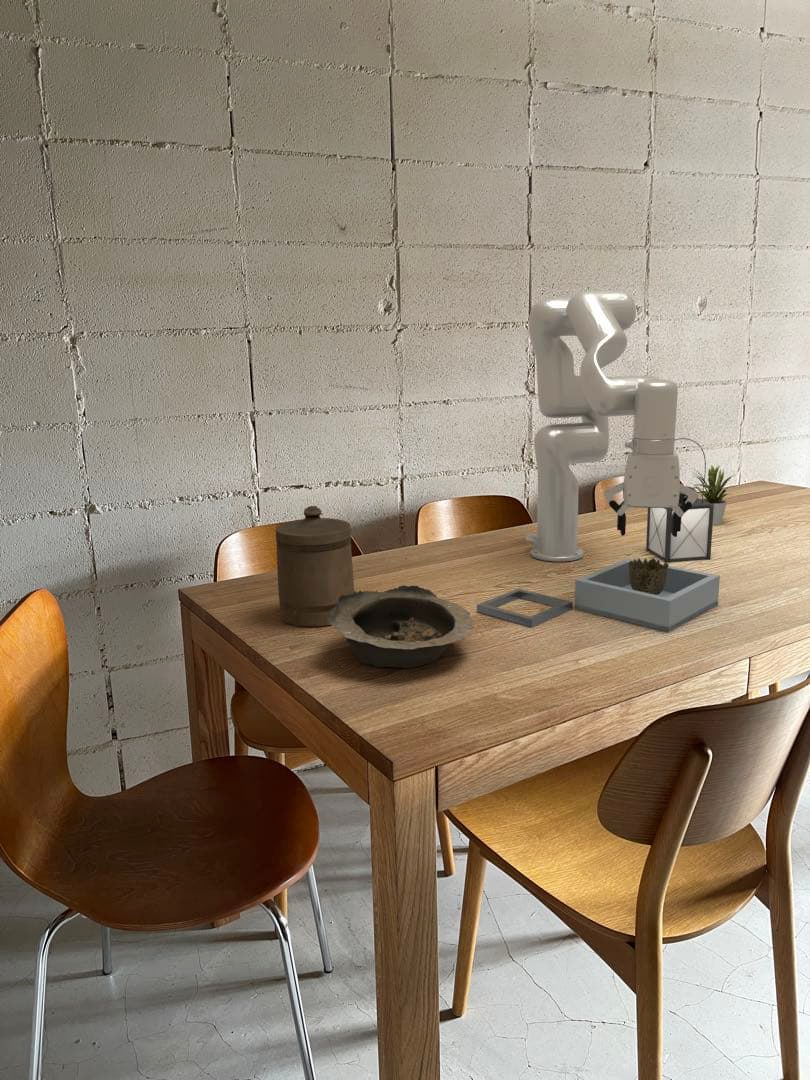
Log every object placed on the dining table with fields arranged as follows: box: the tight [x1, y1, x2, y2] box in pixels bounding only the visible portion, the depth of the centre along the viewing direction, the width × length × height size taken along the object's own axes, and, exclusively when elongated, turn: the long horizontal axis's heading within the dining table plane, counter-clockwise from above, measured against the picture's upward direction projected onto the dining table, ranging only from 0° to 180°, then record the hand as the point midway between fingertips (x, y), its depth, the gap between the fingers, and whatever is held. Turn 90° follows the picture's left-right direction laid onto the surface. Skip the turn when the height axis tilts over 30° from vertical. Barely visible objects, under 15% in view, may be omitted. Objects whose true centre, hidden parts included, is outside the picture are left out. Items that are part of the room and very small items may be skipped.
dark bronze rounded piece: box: [629, 557, 670, 595], centre depth 165 cm, size 8×7×8 cm
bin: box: [574, 557, 721, 633], centre depth 166 cm, size 20×20×6 cm
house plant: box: [689, 465, 737, 527], centre depth 230 cm, size 14×14×16 cm
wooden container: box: [275, 505, 355, 628], centre depth 165 cm, size 15×15×22 cm
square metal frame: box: [476, 588, 574, 628], centre depth 166 cm, size 13×13×2 cm
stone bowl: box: [327, 585, 475, 670], centre depth 146 cm, size 25×25×9 cm
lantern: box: [645, 437, 714, 564], centre depth 198 cm, size 11×11×28 cm
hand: (648, 534), depth 163 cm, fingers open, 9 cm apart
